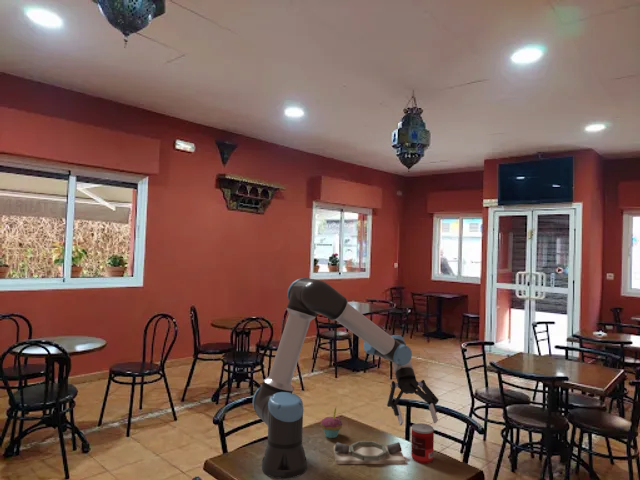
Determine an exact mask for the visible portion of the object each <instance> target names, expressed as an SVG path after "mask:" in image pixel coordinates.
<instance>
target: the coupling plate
mask: <svg viewBox="0 0 640 480" xmlns="http://www.w3.org/2000/svg"><path fill="white" fill-rule="evenodd" d="M402 452H403V450H402V446H401V443H400V442H399V441H397V442H395V443H391V444H385V445H384V444H382V443H380V442H376V441H374V440H357V441H355V442H354V443H351V444H345V443H341V442H338V441H337V442H336V443H335V444H334V445H333V455H334V459H335V463H336V465H382V464H383V465H398V464H399V465H400V464H401V465H403V464H404V465H406V459H405V456H404V455H403V453H402Z"/></svg>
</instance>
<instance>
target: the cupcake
mask: <svg viewBox="0 0 640 480" xmlns="http://www.w3.org/2000/svg"><path fill="white" fill-rule="evenodd" d="M336 413H337V407H334V411H333V416H327V417H325V418H322V420H321V421H320V427H321V428H322V429H323V431H324V435H325V437H326V438H329V439H335V438H337V437H338V435H339V432H340V430H341V429H342V427H343V422H342V421H341V419H339V418H338V417H336Z"/></svg>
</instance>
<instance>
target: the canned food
mask: <svg viewBox="0 0 640 480" xmlns="http://www.w3.org/2000/svg"><path fill="white" fill-rule="evenodd" d="M434 431H435V430H434V426H432V425H430V424H427V423H421V422H420V423H413V424H412V425H411V454H410V455H411V459H412V460H413V461H414V462H417V463H419V464H429V463H431V462H433V460H434V445H435V443H434V442H435V440H434V436H435V435H434V434H435V433H434Z"/></svg>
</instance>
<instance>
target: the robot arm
mask: <svg viewBox="0 0 640 480" xmlns="http://www.w3.org/2000/svg"><path fill="white" fill-rule="evenodd" d="M286 294H287V299H288V303H287V307H286V311H287V313H288V316H287V319H286V323H285V325H284V329H283V332H282V334H281V338H280V341H279V345H278V348H277V350H276V352H275V356H274V360H273V361H272V362H273V363H272V366H271V369H270V371H269V374H268V377H266V378H265V379H263V380H262V383H261V386H259V387H258V388H257V389H256V391H255V392H254V394H253V397H252V408H253V410H254V411H255V414H256V416H257V417H258V418H259V419H261V420H262V422H263V423H264V424H265V425H267V445H266V448H265V452H264V456H263V457H262V461H261V471H262V472H263V473H264V474H265V475H267V476H269V477H271V478H274V479H275V478H276V479H292V478H297V477H299V476H301V475H303V474H304V473H305V472H306V471H307V469H308V460H307V456H306V453H305V450H304V446H303V432H304V431H303V426H304V424H303V423H304V403H303V400H302V398H301V397H300V395H298V394H296V393H294V387H293V386H292V381H293V379H294V375H295V372H296V368H297V365H298V362H299V358H300V356H301V353H302V349H303V346H304V342H305V339H306V337H307V334H308V330H309V327H310V325H311V324H310V323H311V321H312V320H314V319H316V318H317V314H319V315H322V316H324V317H326V319H329V321H336V322H338V323H339V324H340V325H341V326H343V327H344V328H346V329H347V330H348V331H350V332H351V333H352V334H354V335H355V336H357V337H358V338H359V339H361V340H362V341H363V350H364V352H365V353H366V354H367V355H371V356H377V357H379V358H382V359H384V360H387V361H389V362H391V364H392V368H393V372H394V373H395V374H394V375H395V378H396V381H393V380H392V381H391V383H390V392H389V396H388V399H387V404H386V406H387V407H388V408H389V407H390V408H391V409H392V410H393V414H394V416H395V417H397V421H398V424H399V426H403V423H404V419H403V415H402V411H401V408H400V407H401V406H400V404H398V403H399V401H400V399H401V398H402V396H403V394H405V395H408V394H415V395H416V396H418V397H419V398H420V399H422V400H423V401H424V402H426V403H427V404H428V409H429V412H430V415H431V418H432V421H433V424H437V422H438V421H439V420H438V419H439V418H438V416H437V412H438V409H437V404H438V403H439V398H438V397H437V396H436V394H435V393H434V392H433V391H432V390H431V389H430V387H429V386H428V385H427V384H426V381H425V380H424V379H421V381H418V380H417V379H416V374H415V371H414V369H413V364H412V357H413V353H412V350H411V347H410V346H408V345H407V343H406V341H405V339H404V337H403V336H402V335H400V334H391V335H390V333H388V332H386V331H385V330H384V329H382V328H381V327H380V326H379V325H377V324H376V323H374V322H373V321H372V320H371V319H370V318H368V317H366V316H365V315H364V314H363V313H361V312H360V311H359V310H357V309H356V308H355V307H354V306H353V305H351V304H349V303H348V299H347V298H346V297H345V296H344V295H342V294H341V292H339V291H338V290H336V289H335V288H334V287H332V285H330V284H328V283H327V282H325V281H324V280H321V279H314V278H310V277H303V278H298V279H296V280H294V281H292V283H291V284H290V285H289V287H288V288H287V293H286ZM397 388H398V389H399V390H400V391H399V392H398V395H397V397H396V398H395V400H394V402H393V399H394V395H395V391H396V389H397Z"/></svg>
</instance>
